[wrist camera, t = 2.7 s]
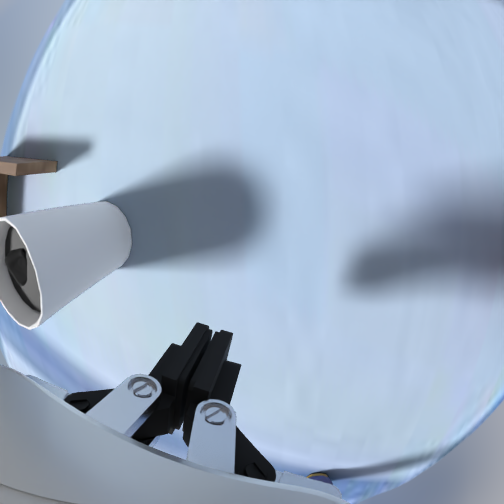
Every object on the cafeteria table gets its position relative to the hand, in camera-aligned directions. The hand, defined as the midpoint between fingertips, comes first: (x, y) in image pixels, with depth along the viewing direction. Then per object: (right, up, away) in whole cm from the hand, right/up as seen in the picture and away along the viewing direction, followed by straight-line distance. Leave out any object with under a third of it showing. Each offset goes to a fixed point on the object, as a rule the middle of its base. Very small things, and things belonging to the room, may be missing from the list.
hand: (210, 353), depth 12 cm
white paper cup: (-10, +6, +9) cm, 15 cm away
